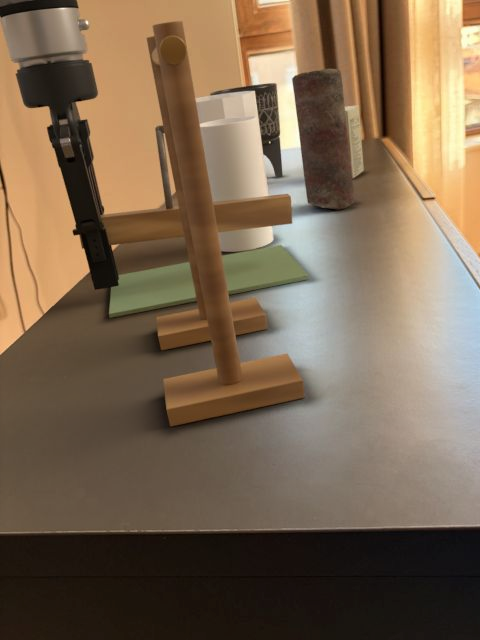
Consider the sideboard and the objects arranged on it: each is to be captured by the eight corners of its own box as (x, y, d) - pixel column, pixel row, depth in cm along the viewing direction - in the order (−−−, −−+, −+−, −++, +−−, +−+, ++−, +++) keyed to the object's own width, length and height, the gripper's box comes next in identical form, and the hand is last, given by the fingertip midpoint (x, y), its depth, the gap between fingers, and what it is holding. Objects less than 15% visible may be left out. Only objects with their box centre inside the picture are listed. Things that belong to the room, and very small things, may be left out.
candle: (302, 214, 99) (286, 74, 91) (311, 202, 105) (297, 71, 97) (351, 210, 97) (339, 67, 88) (358, 199, 103) (347, 64, 95)
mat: (112, 280, 81) (111, 276, 81) (281, 248, 83) (281, 244, 83) (109, 318, 68) (108, 313, 68) (308, 279, 71) (308, 275, 70)
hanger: (82, 245, 72) (61, 134, 67) (289, 220, 76) (283, 113, 71) (81, 248, 71) (59, 135, 66) (292, 223, 74) (286, 114, 69)
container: (204, 203, 117) (185, 98, 109) (279, 197, 112) (266, 88, 105) (173, 225, 104) (150, 108, 97) (257, 219, 100) (239, 96, 92)
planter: (273, 171, 137) (262, 83, 130) (297, 178, 126) (286, 82, 119) (216, 183, 134) (202, 93, 127) (236, 191, 123) (221, 93, 115)
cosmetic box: (343, 172, 126) (338, 106, 120) (364, 171, 123) (360, 104, 118) (331, 180, 121) (325, 111, 115) (352, 179, 118) (347, 109, 113)
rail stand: (159, 331, 63) (95, 46, 52) (258, 311, 64) (215, 29, 53) (170, 427, 46) (79, 32, 35) (305, 397, 47) (257, 7, 36)
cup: (202, 250, 88) (180, 128, 81) (238, 233, 94) (220, 118, 87) (250, 253, 83) (231, 124, 76) (285, 235, 89) (269, 114, 82)
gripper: (85, 54, 58) (140, 298, 68) (93, 58, 71) (138, 261, 81) (0, 66, 57) (69, 311, 67) (24, 67, 70) (78, 272, 80)
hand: (107, 283), depth 74 cm, fingers closed on hanger, 2 cm apart
